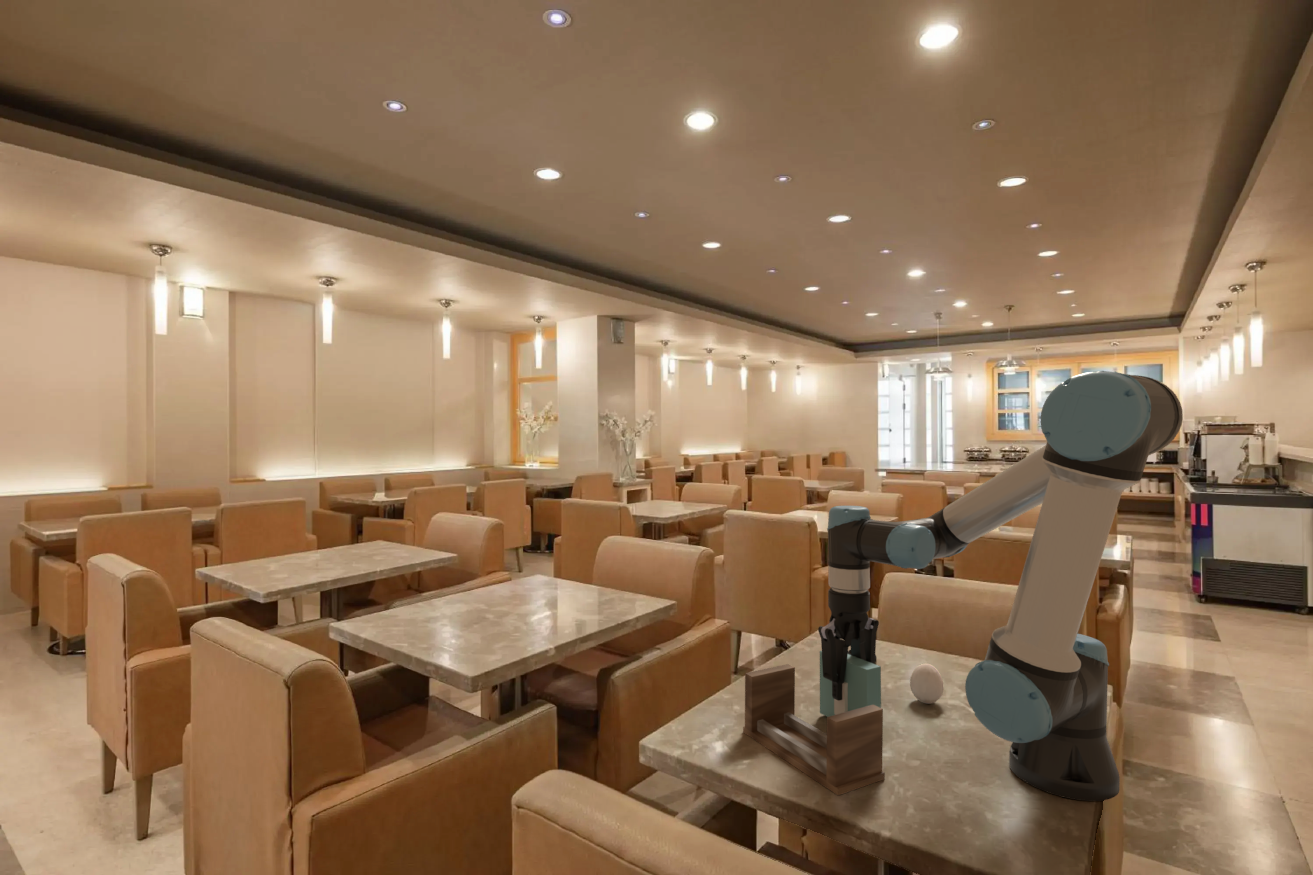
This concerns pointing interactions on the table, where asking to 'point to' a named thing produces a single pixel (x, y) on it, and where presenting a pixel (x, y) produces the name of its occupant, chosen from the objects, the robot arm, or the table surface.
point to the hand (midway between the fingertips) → (849, 713)
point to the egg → (926, 683)
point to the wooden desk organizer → (814, 733)
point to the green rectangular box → (853, 686)
